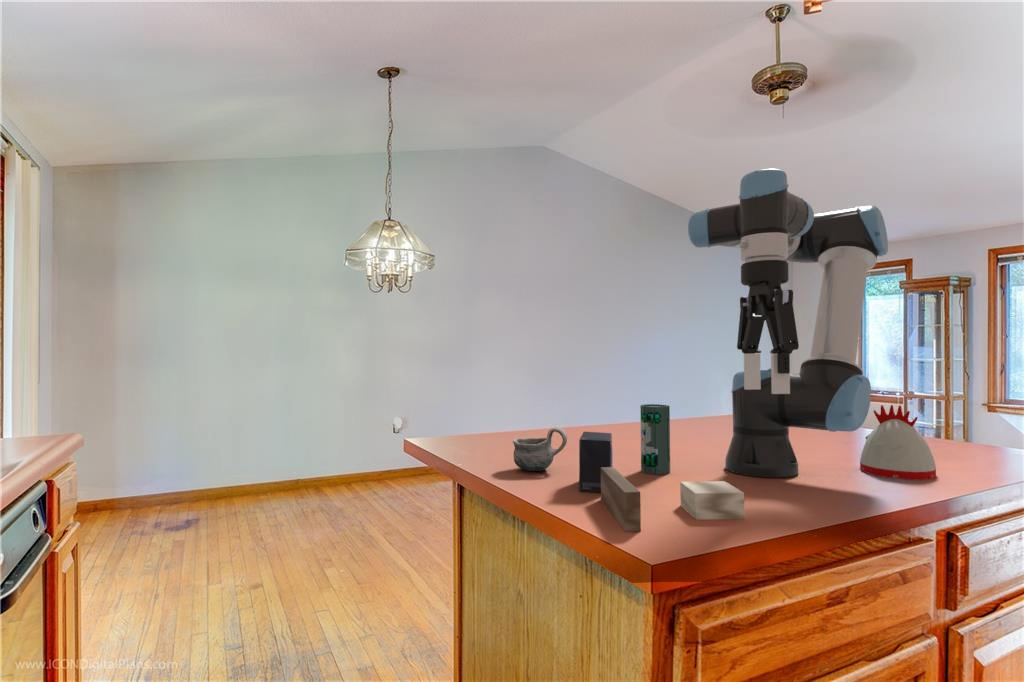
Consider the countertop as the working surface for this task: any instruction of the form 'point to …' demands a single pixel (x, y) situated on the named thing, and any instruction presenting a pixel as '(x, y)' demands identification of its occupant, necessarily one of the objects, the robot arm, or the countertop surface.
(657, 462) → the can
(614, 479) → the walnut board
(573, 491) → the countertop surface
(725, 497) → the maple block
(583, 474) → the small box
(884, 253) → the robot arm
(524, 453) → the mug
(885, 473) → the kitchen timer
